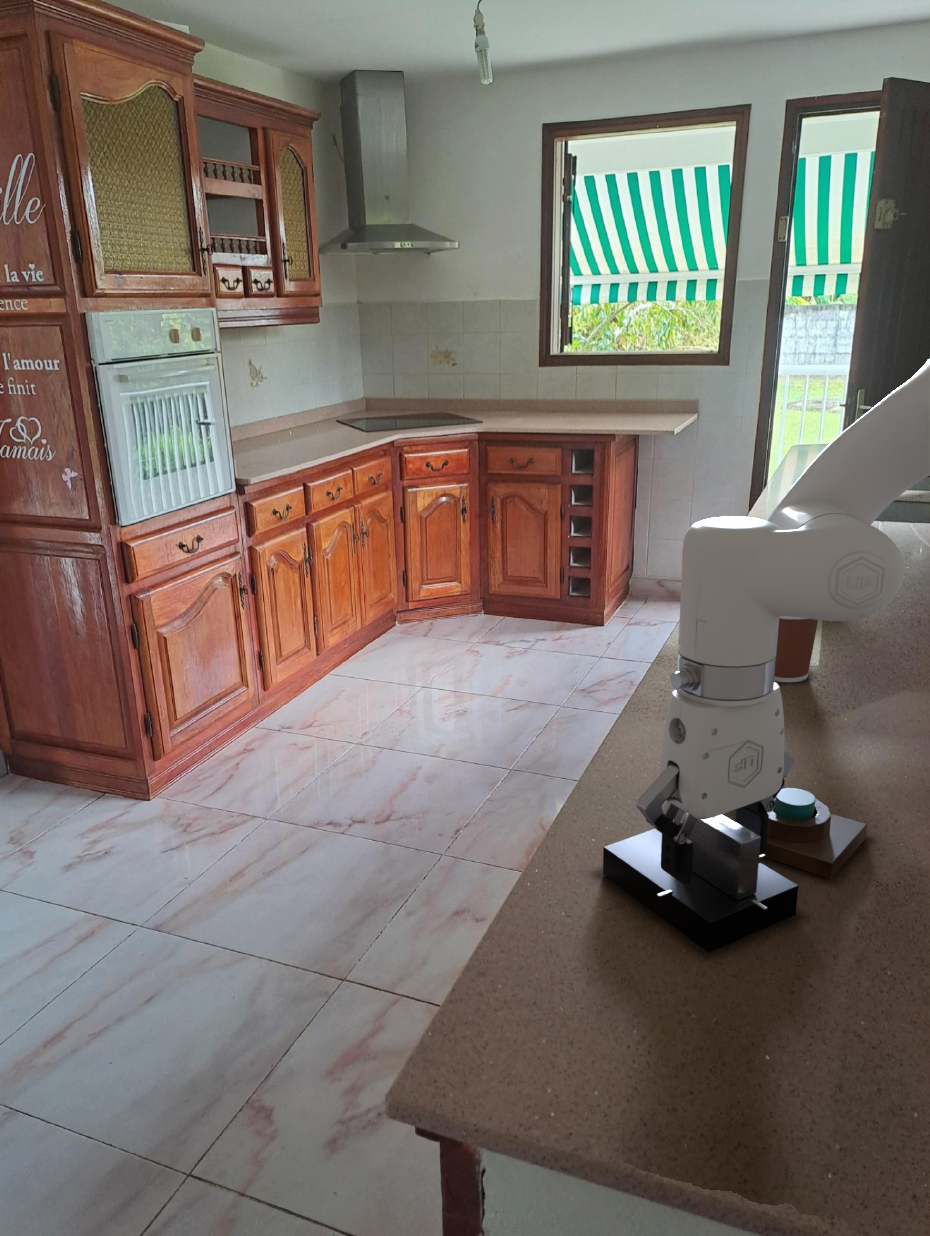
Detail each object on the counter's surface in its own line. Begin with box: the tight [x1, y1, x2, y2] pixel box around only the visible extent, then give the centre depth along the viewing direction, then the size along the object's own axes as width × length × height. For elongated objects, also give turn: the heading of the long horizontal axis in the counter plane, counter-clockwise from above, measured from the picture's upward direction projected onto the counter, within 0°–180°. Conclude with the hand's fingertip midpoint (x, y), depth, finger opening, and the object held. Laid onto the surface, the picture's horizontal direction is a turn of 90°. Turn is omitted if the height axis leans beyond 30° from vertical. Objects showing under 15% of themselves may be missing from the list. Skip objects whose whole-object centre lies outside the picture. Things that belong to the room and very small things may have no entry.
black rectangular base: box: [602, 828, 800, 953], centre depth 86 cm, size 15×12×3 cm
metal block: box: [673, 809, 761, 901], centre depth 83 cm, size 8×2×6 cm, turn 28°
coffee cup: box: [774, 616, 819, 683], centre depth 134 cm, size 9×9×12 cm
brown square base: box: [728, 798, 868, 880], centre depth 94 cm, size 11×9×4 cm
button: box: [774, 787, 816, 820], centre depth 93 cm, size 4×4×2 cm
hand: (713, 860), depth 83 cm, fingers open, 7 cm apart
